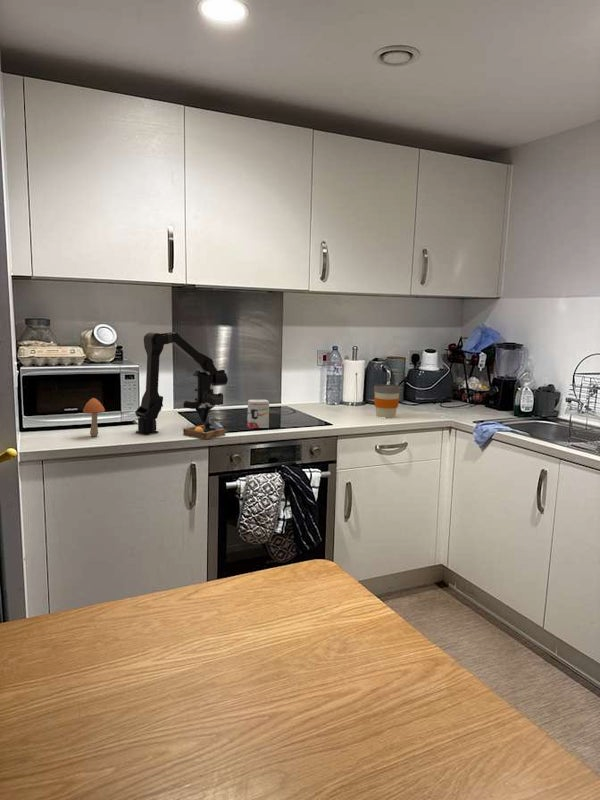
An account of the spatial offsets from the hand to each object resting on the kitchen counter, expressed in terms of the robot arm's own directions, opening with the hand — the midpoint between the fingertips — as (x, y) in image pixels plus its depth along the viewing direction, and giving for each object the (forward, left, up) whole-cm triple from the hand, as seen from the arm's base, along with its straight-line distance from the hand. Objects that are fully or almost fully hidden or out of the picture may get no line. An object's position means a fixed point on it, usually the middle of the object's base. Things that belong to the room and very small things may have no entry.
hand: (203, 422), depth 245 cm
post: (0, -6, -1) cm, 6 cm away
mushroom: (-43, +16, -2) cm, 46 cm away
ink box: (+12, -20, -2) cm, 24 cm away
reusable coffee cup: (+74, -49, -2) cm, 89 cm away
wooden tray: (-13, -14, -1) cm, 19 cm away
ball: (-16, -13, 0) cm, 20 cm away
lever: (-1, -9, -1) cm, 9 cm away
